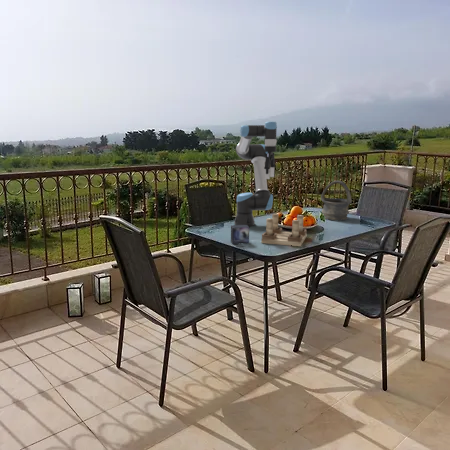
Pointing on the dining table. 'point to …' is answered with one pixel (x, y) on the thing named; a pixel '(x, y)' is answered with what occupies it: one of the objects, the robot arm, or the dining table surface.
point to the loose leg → (300, 222)
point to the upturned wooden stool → (282, 233)
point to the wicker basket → (336, 204)
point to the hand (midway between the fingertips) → (269, 178)
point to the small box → (239, 234)
